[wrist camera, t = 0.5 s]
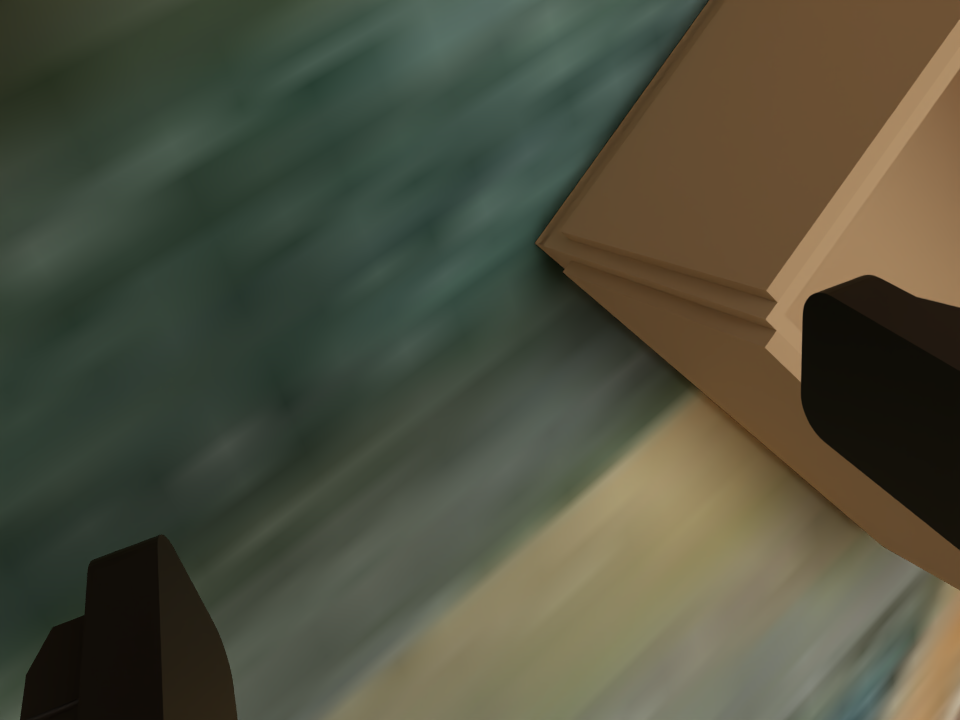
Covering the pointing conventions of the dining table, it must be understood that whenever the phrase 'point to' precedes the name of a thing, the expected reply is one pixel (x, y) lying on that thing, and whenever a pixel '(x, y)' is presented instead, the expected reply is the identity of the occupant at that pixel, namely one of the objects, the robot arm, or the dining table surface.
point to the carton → (780, 210)
